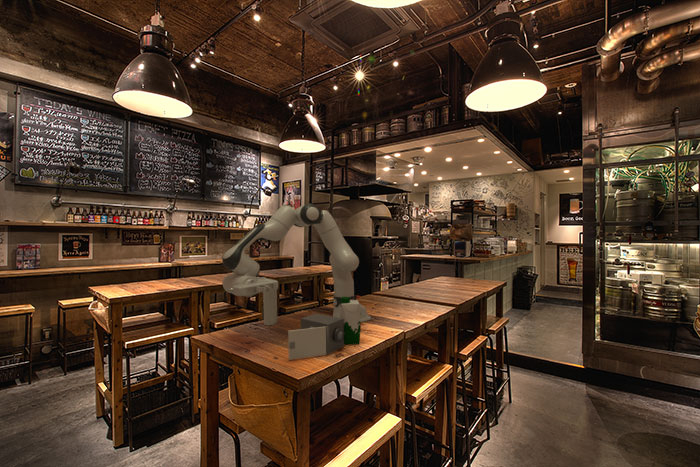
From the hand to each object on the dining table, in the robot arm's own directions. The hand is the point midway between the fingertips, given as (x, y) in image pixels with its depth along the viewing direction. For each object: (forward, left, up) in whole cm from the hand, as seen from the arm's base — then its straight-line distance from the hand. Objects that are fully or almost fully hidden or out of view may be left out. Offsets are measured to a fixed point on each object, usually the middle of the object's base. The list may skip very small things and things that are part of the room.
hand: (267, 289), depth 130 cm
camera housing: (-21, +8, -26) cm, 35 cm away
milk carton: (-34, +10, -26) cm, 44 cm away
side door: (-11, +16, -26) cm, 32 cm away
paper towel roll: (-13, -38, -26) cm, 48 cm away
